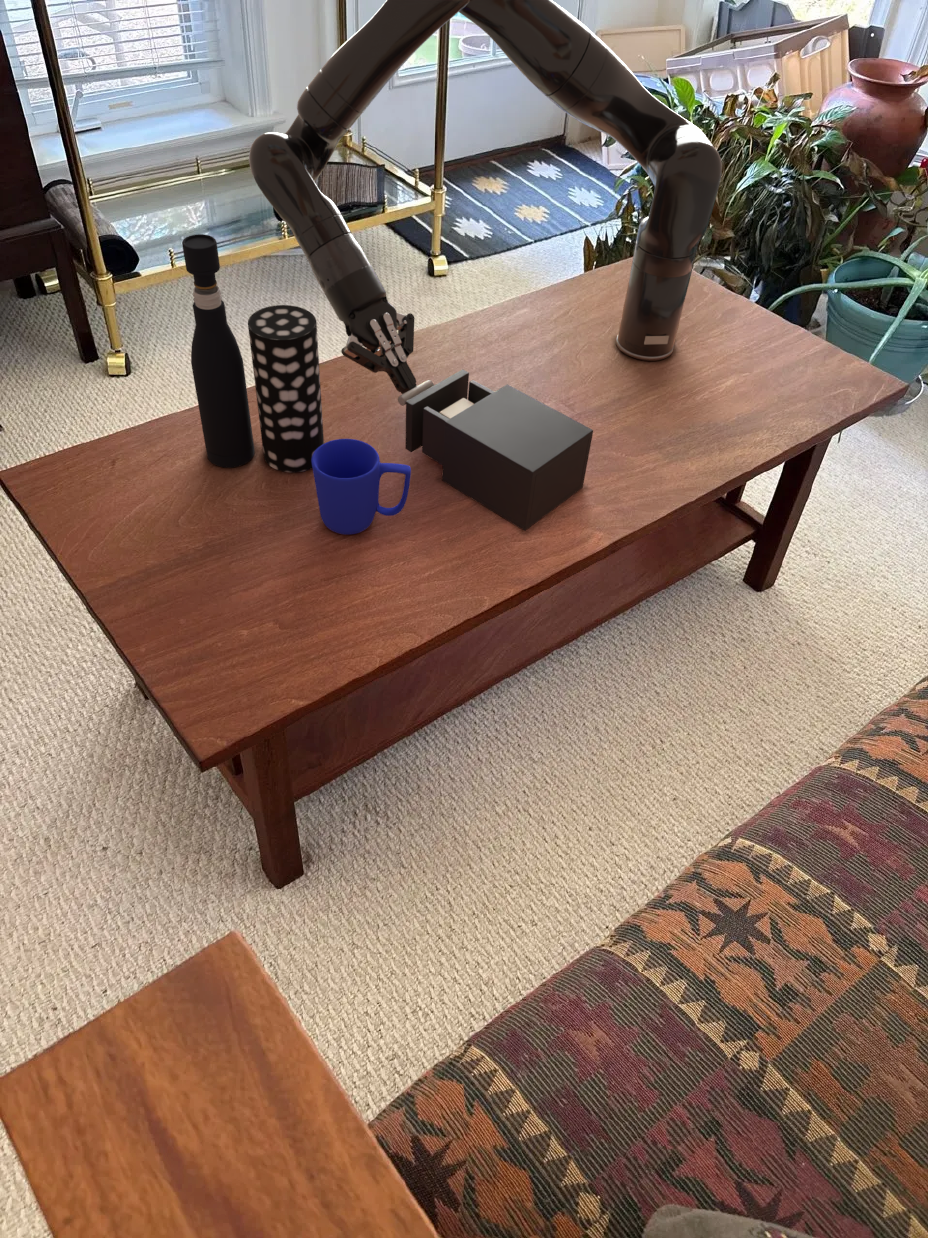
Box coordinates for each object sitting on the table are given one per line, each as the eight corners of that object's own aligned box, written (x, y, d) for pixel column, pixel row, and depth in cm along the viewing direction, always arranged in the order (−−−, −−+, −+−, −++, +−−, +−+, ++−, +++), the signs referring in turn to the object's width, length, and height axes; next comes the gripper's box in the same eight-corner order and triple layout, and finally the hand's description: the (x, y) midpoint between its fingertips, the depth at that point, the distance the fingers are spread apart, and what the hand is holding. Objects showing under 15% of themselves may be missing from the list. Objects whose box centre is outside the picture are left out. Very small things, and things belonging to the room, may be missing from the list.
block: (437, 442, 131) (438, 412, 128) (461, 427, 134) (463, 397, 130) (464, 458, 129) (466, 427, 126) (488, 442, 132) (490, 412, 128)
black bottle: (215, 472, 127) (179, 258, 105) (201, 446, 131) (163, 233, 109) (261, 461, 129) (235, 248, 108) (245, 435, 133) (217, 224, 111)
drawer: (383, 435, 134) (383, 388, 128) (438, 403, 140) (440, 356, 134) (478, 493, 126) (482, 445, 120) (531, 456, 132) (538, 409, 126)
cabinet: (441, 480, 129) (444, 421, 122) (501, 441, 136) (507, 383, 129) (524, 531, 123) (532, 472, 116) (582, 487, 129) (593, 429, 122)
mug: (407, 545, 120) (409, 483, 112) (312, 540, 119) (307, 477, 112) (411, 503, 125) (413, 441, 118) (320, 498, 125) (315, 435, 118)
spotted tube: (292, 428, 135) (280, 298, 120) (336, 451, 132) (330, 320, 117) (250, 456, 130) (233, 323, 116) (296, 480, 127) (284, 347, 112)
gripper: (323, 282, 123) (390, 401, 127) (394, 250, 130) (456, 364, 134) (298, 304, 129) (363, 417, 133) (368, 273, 136) (428, 381, 140)
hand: (410, 390), depth 134 cm, fingers closed
